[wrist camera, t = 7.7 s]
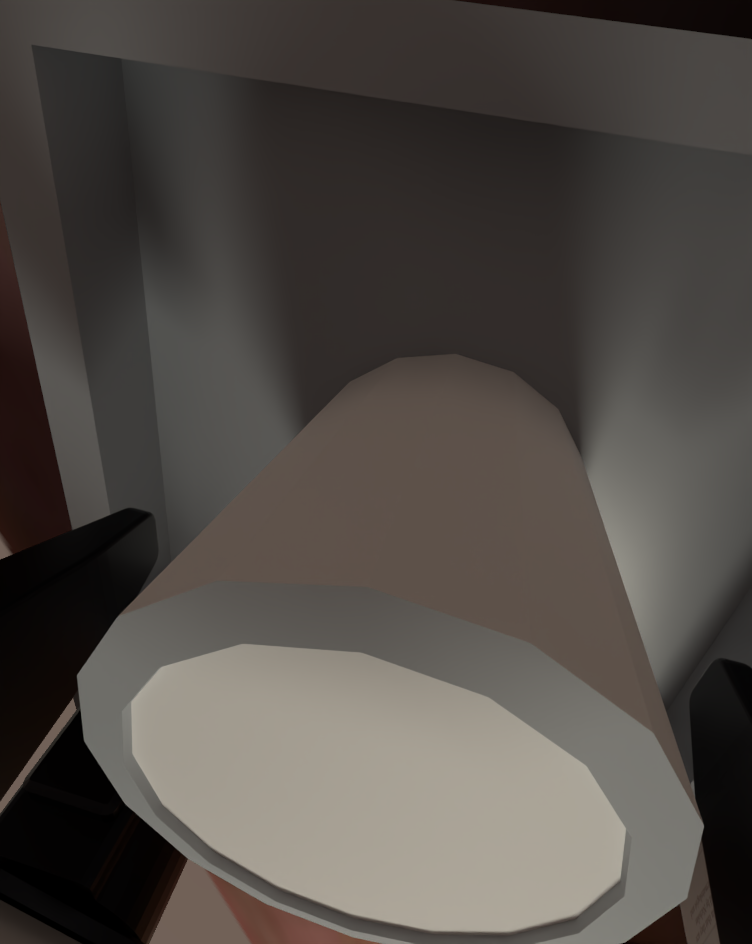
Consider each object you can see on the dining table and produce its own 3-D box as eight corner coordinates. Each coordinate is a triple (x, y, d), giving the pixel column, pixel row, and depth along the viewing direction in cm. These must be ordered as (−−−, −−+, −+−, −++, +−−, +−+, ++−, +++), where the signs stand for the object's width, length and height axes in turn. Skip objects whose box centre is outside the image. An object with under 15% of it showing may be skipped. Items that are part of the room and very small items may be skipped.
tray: (661, 741, 16) (684, 857, 14) (164, 605, 18) (106, 685, 15) (1103, 114, 8) (1367, 119, 5) (93, -23, 10) (-59, -66, 7)
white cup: (231, 372, 12) (-55, 626, 6) (582, 269, 9) (659, 533, 4) (351, 615, 15) (235, 940, 9) (640, 586, 12) (734, 1009, 7)
